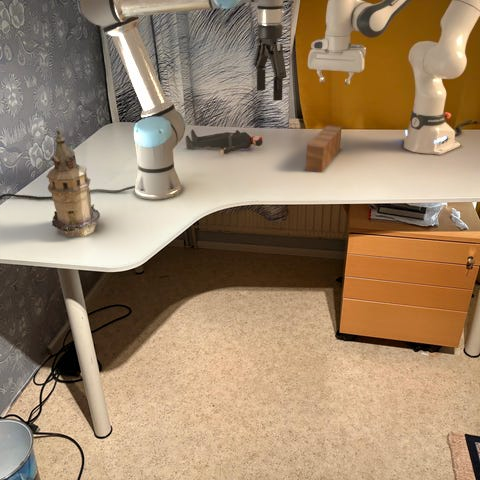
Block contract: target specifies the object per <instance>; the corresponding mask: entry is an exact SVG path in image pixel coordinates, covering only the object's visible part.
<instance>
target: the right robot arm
mask: <svg viewBox="0 0 480 480" xmlns="http://www.w3.org/2000/svg"><path fill="white" fill-rule="evenodd" d="M411 2H412V0H382V1H380V2H378V3H371V2H367V1H365V0H328V1H327V5H326V13H325V25H326V29H325V32H324V37H321V38H319V39H316V40H314V41H312V42H311V43H310V48H311V49H310V51H309V53H308V57H307V67H308V69H309V70H316V74H317V76H318V77H319V83H325V81H326V77H325V76H323V73H322V72H323V71H332V72H334V71H335V72H348V77H347V78H345V79H344V85H350V84H351V79H352V77H353V76H354V75H355V73H362V72H363V71H364V69H365V57H366V55H367V48H366V47H365V45H363V44H360V43H359V44H356V43H351V33H352V32H353V31H356V32H358V33H360V34H361V35H363V36H365V37H367V38H368V39H369V38H370V39H371V38H377V37H379V36H382V34H383V33H385V31H386V30H387V29H388V27H389V26H390V23H391V22H392V20H393V19H394V18H395V17H396V16H397V15H398V14H399V13H400V12H401V11H402V10H403V9H404V8H405V7H406V6H407V5H408V4H409V3H411ZM479 18H480V0H451V2H450V3H449V5H448V7H447V9H446V11H445V12H444V14H443V16H442V17H441V19H440V23H439V24H440V28H441V32H440V37H439V39H438V42H435V41H431V40H424V41H418V42H416V43H414V44H413V45H412V47H410V50H409V53H408V62H409V64H410V67H411V69H412V71H413V72H412V73H413V78H414V87H415V88H414V90H415V91H414V100H413V107H412V110H411V112H410V118H409V120H410V122H409V124H408V128H407V129H405V138H404V139H403V145H402V146H403V148H404V149H406V150H408V151H410V152H413V153H417V154H428V155H429V154H431V155H439V156H441V155H443V154H446V153H448V152H450V151H453V150H455V149H457V148H459V147H460V146H461V144H460V143H459V142H458V141H457V140H455V138H456V137H458V136H460V135H461V134H462V133H463V131H462V129H461V127H462V126H465V125H467V124H469V123H473V122H472V119H469V120H466V121H464V122H461V123H459V125H457V128H456V129H457V131H458V132H456V131H455V130H454V129H453V127H451V126H450V124H448V123H447V122H446V119H450V118H451V117H452V114H451V113H450V112H444V110H445V104H446V99H447V90H446V88H445V85H444V83H443V80H453V79H456V78H460V76H461V75H462V74H463V73H464V71H465V70H466V68H467V63H468V59H467V55H466V47H467V43H468V40H469V37H470V34H471V32H472V30H473V28H474V27H475V25H476V24H477V21H478V20H479ZM474 123H475V124H479V122H478V120H477V121H475V122H474Z"/></svg>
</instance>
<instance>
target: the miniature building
mask: <svg viewBox="0 0 480 480" xmlns="http://www.w3.org/2000/svg"><path fill="white" fill-rule="evenodd" d="M56 134H57V136H56V138H55V140H54V141H55V142H56V147H55V154H54V156H52V157H51V161H52V162H53V165H54V167H53V168H51V169H50V170H49V171H48V173H47V174H46V178H47V179H48V182H49V184H48V186H47V190H48V191H49V193H50V194H51V196H52V199H51V200H52V201H53V205H54V209H55V211H53V217H52V220H51V223H52V225H51V227H54V228H56V229H58V230H59V231H60V234H63V235H64V234H65V235H66V236H69V237H77V236H80V237H83V236H87V235H88V234H90V233H93V232H94V231H95V229H96V226H97V225H98V223H99V220H100V216H101V213H100V212H99V210H98V209H96V208H95V204H92V201H91V200H92V199H91V198H92V197H91V193H92V192H91V191H90V190H91V188H90V184H91V178H89V177H88V174H87V167H85V166H84V165H83V166H82V165H80V164H77V160H76V154H75V151H74V150H70V149H69V147H68V145H67V143H66V138H65V137H64V136H63V135H61V130H60V129H56Z"/></svg>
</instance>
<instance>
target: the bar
mask: <svg viewBox="0 0 480 480" xmlns="http://www.w3.org/2000/svg"><path fill="white" fill-rule="evenodd" d="M342 129H343V127H342V126H336V125H327V124H326V126H325V127H324V128H323V129H322V130H321V131H320V132H319V133H318V134H316V136H315V137H314V138H313V139H311V141H310V142H309V143H308V144H307V145H306V157H305V158H306V160H305V161H306V162H305V171H310V172H311V171H312V172H318V173H322V172H323V171H324V170H325V169H326V167H327V166H328V165H329V164H330V163H331V161H332V160H333V159H334V158H335V156H336V155H337V154H338V153H339V152H340V150H341V141H342Z"/></svg>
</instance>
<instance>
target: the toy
mask: <svg viewBox="0 0 480 480" xmlns="http://www.w3.org/2000/svg"><path fill="white" fill-rule="evenodd" d="M233 131H234V132H229V131H225V132H220V133H219V132H218V133H214V134H208V135H201V136H198V135H197V134H196V132H195V130H194V129H191V130H190V136H189V135H188V134H187V135H186V136H185V147H186V149H187V150H191V149H194V148H198V149H199V148H200V149H204V148H211V149H215V148H216V149H217V148H220V149H221V150H219V151H220V152H219V153H220V155H221V156H224V155H228V154H230V153H232V152H235V151H239V150H241V151H247V150H248V151H249V149H250V148H251V147H252V145H253V146H255V147H260V146H262V145H263V142H264V141H263V137H262V136H261V135H253V136H251V135H250V134H249V133H248V132H247V131H242V132H241V131H239V129H234V130H233ZM190 137H191V138H190Z"/></svg>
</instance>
